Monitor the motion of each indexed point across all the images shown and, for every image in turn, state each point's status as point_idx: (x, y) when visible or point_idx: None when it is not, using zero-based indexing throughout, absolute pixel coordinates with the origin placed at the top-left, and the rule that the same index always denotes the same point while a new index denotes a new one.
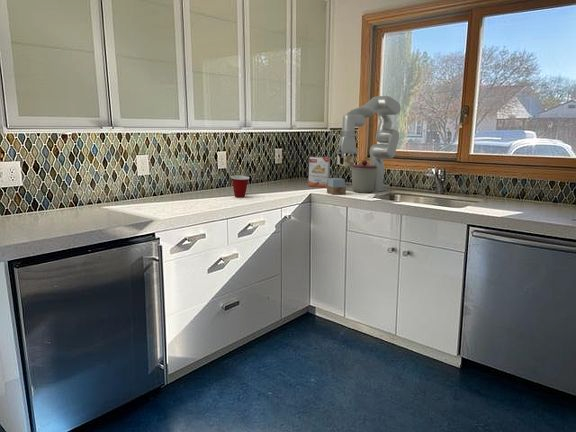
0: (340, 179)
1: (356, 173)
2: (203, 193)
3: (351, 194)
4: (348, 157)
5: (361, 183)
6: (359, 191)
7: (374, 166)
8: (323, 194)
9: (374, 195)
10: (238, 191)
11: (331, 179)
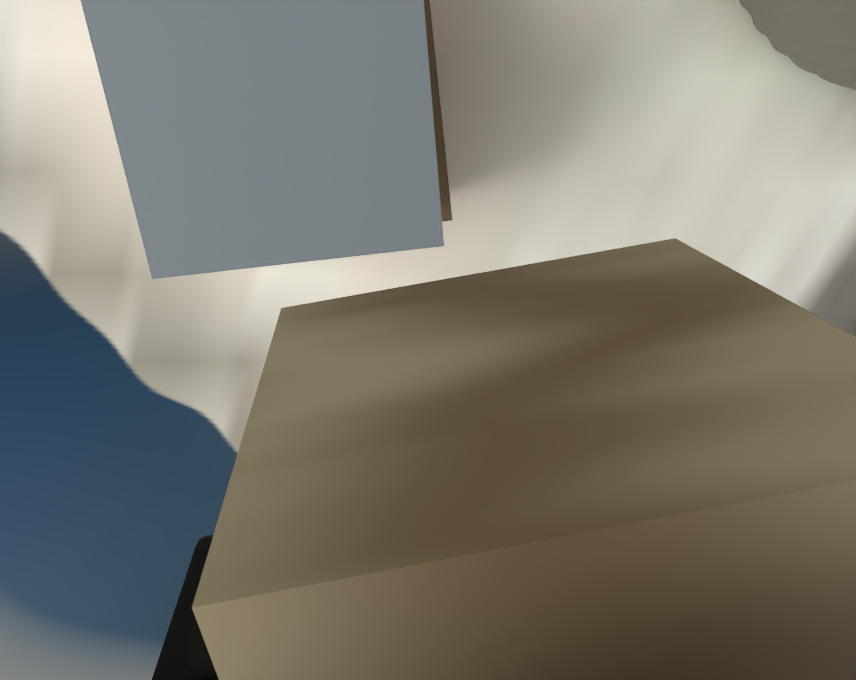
0: (331, 257)
1: None
2: None
3: (538, 175)
4: None
5: (851, 70)
6: (754, 24)
7: None
8: (67, 167)
9: (827, 272)
10: None
11: (127, 168)
